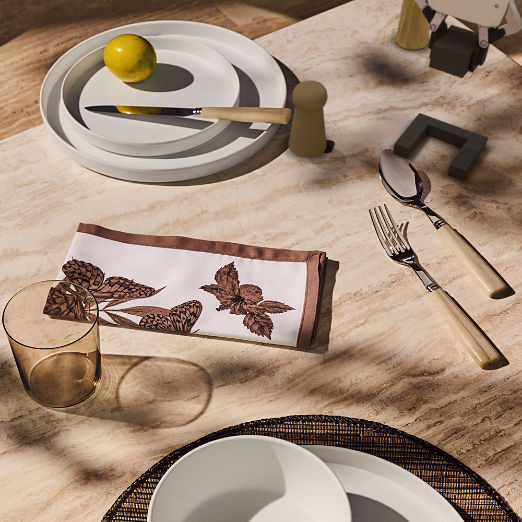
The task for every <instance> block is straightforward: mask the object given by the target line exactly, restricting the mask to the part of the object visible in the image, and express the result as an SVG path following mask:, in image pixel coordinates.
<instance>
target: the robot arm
mask: <svg viewBox="0 0 522 522" xmlns="http://www.w3.org/2000/svg"><path fill="white" fill-rule="evenodd" d="M414 1H415V2H416V4H417V5H418V6H419V8H420V9H422V12H423V15H424V16H425V18H426V19H427V21H428V23H429V24H430V25H429V31H431V32H430V35H429V36H430V37H429V40H428V47H427V48H428V49H429V50H430V52H429V56H428V58H429V59H430V58H431V53H432V49H433V44H434V43H435V42H436V41H437V40H438V39H439V38H440V37H441V36H442V35H443V34H444V32H445V31H446V30H447V29H448V28H449V26H448V23H447V22H446V20H447V18H448V17H449V16H450V17H452V18H456V19H460V20H463V21H466V22H469V23H473V24H476V25H477V26H478V27H477V28H478V33H479V40H478V42H477V43H476V44H475V46H474V48H473V53H472V57H471V61H470V64H469V68H468V70H469V71H468V73H472V74H473V73H474V72H475V71H476V69H477V68H478V67H479V66H481V67H482V66H483V65H484V63H485V62H486V59H487V56H488V52H489V48H490V46H491V44H494V43H496V42H498V41H499V40H502V39H503V38H505V37H508V36H512V35H513V34H516V33H519V32H520V31H521V29H522V17H521V15H520V12H519V10H518V7H517V5H516V4H515V0H414ZM503 18H505V20H506V22H507V23H505V24H501V22H502V20H503ZM500 24H501V25H500Z"/></svg>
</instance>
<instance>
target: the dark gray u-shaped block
mask: <svg viewBox="0 0 522 522" xmlns="http://www.w3.org/2000/svg"><path fill="white" fill-rule="evenodd" d="M425 136H429V137H432V138H434V139H438V140H440V141H443V142H446V143H448V144H452V145H454V146H456V147H459V148H460V150H459V151H458V153H457V154H456V155H455V157H454V158H453V159H452V161H451V162H450V164H449V166H448V167H449V168H448V170H447V175H449V176H451V177H453V178H456V179H458V180H460V181H464V179H465V178H466V176H467V175H468V173H469V172H470V171H471V169H472V168H473V166H474V164H476V162H477V161H478V159H479V157H480V156H481V155H482V153H483V151H484V150H485V149H486V146H487V143H488V141H489V140H488V139H489V137H487V136H485V135H482V134H479V133H478V132H477V133H476V132H473V131H471V130H468V129H466V128H463V127H459V126H458V125H454V124H451V123H448V122H446V121H443V120H440V119H438V118H435V117H432V116H429V115H427V114H423V113H421V112H418V114H417V115H416V116H415V118H414V119H413V120H412V121H411V123H410V124H409V125H408V126H407V128H406V129H404V131H403V132H402V133H401V135H400V136H399V137H398V138H397V139H396V141H395V142H394V144H393V150H392V154H394V155H397V156H400V157H402V158H405V159H409V157H410V156H411V155H412V153H413V152H414V150H415V149H416V148H417V147H418V146H419V144H420V143H421V142H422V140H424V138H425Z"/></svg>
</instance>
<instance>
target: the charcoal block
mask: <svg viewBox="0 0 522 522" xmlns="http://www.w3.org/2000/svg"><path fill="white" fill-rule="evenodd" d="M478 40H479V32H476V31H473V30H470V29H466V28H464V27H460V26H457V25H455V24H450V25H449V26H448V29H447V30H446V31H445V32H444V34H443V35H442V36H441V37H440V38H439V39H438V40H437V41H436V42H435V43H434V44H433V49H432V53H431V58H429V63H428V68H431V69H434V70H437V71H439V72H443V73H446V74H449V75H451V76H454V77H457V78H460V79H464V78H465V76H466V75H467V74H468V73H469V70H468V68H469V64H470V61H471V57H472V53H473V48H474V46H475V44H476V43H477V42H478Z"/></svg>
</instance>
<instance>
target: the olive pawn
mask: <svg viewBox="0 0 522 522" xmlns="http://www.w3.org/2000/svg"><path fill="white" fill-rule="evenodd" d="M293 88H294V89H293V91H292V94H291V95H292V96H291V97H292V102H293V103H292V104H293V105H294V106H295V108H294V112H293V118H292V123H291V128H290V134H289V139H288V149H289V151H290V152H291V153H292V154H294V155H296V156H298V157H300V158H315V157H318V156H320V155H322V154H323V153H325V151H326V149H327V134H326V123H325V112H324V111H325V110H324V108H325V106H326V104H327V102H328V95H329V94H328V89H327V88H326V87H325V85H324V84H323V83H321V82H319V81H317V80H312V79H310V80H308V79H307V80H303V81H300V82H299V83H297V84H296V85H295V87H293Z"/></svg>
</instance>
